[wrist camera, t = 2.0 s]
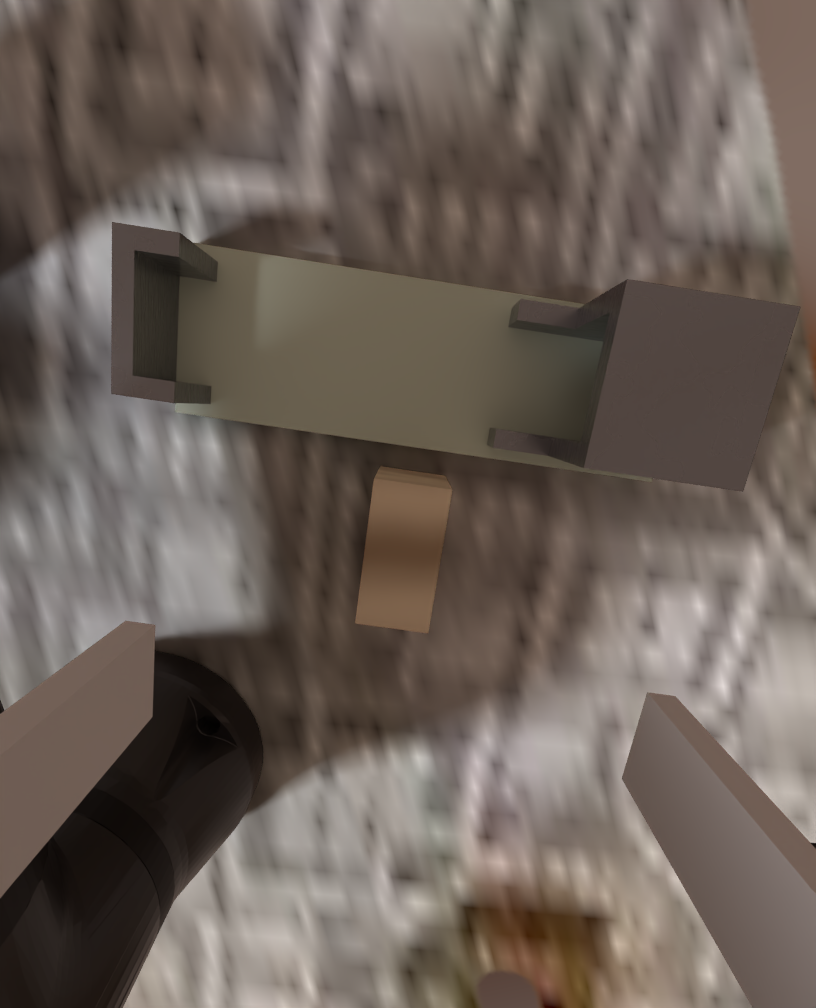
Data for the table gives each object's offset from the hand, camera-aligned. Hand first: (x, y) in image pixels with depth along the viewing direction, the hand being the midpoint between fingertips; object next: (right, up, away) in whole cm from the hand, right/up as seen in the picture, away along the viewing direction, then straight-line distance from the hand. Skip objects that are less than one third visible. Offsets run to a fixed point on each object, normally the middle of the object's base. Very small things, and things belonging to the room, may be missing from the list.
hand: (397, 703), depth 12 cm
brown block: (0, +4, +16) cm, 17 cm away
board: (+1, +13, +14) cm, 19 cm away
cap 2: (+10, +12, +13) cm, 20 cm away
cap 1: (-12, +15, +13) cm, 23 cm away
